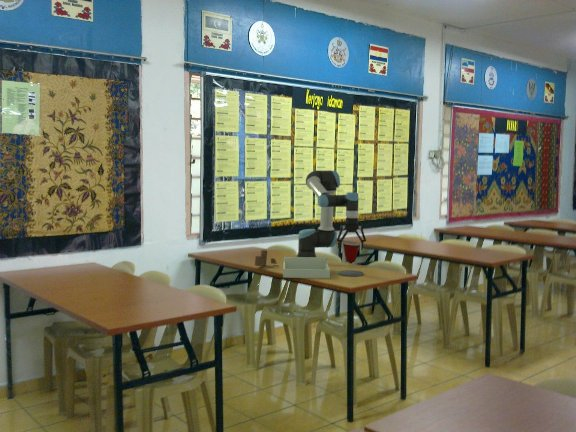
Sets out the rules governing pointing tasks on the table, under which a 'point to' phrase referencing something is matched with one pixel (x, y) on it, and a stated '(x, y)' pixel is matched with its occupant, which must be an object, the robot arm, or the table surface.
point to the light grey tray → (305, 267)
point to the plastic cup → (350, 251)
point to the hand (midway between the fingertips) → (351, 252)
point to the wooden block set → (263, 259)
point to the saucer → (350, 273)
